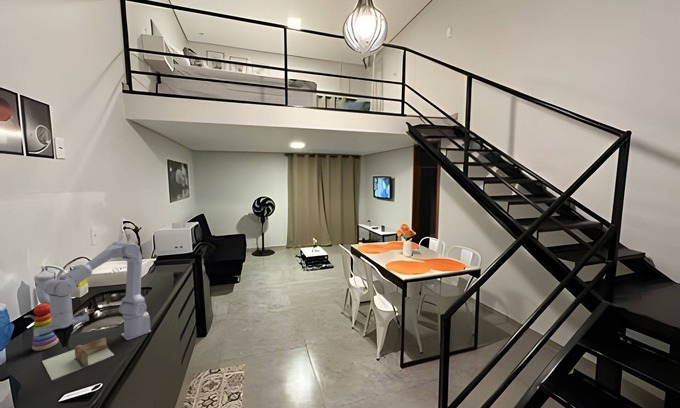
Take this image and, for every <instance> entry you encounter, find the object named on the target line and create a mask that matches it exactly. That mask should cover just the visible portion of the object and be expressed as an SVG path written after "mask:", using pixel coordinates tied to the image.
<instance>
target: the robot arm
mask: <svg viewBox="0 0 680 408" xmlns="http://www.w3.org/2000/svg"><path fill="white" fill-rule="evenodd" d="M140 249H141V247H140V245H138V243H135V242H126V241H125V242H124V241H120V240H119V241H114V242H112V243H111V244H109V245H107V246H106V248H105V249H104V250H103V251H101V252H100V253H99V254H98V255H97V254H96V256H95V257H94V258H92V259H91V260H89V261H88V262H86V263H85V264H82V263H81V264H77V265H74V266H73V267H72V269H71V270H69V271H67V272H66V273H65V274H62V275H59V278H54V279H51V280H50V281H48V282H47V284H46V286H45V288H44V289H43V291H44V293H45V294H47V295H48V299H49V301H48V302H49V305H50V312H49V313H51V317H50V318H51V324H49V325H47V326H44V327H42V328H39V329H36V330H34V329H33V332H34V334H33V336H35V337H37V336H39V335H41V334H44V333H48V332H51V331H53V333H54V334H55V335H56V336H57V338H58V339H59V341H58V342H60V346H61V348H66V347H68V345H69V340H70V337H71V336H72V333H73V331H74V329H75V326H74V325H76V324H77V325H78V324H80V323H83V322H88V321H90V317H89V314H84V315H83V314H82V315H79V316H75V317H74V316H73V304H72V303H73V301H72V293H73V292H74V290H75V289H76V286H78V285H79V284H81V283H82V282H83V281H84V280H86V279H88V278H89V277H90V276H92V274H93V270H94V271H95V269H97V268H99V267H100V266H102V265H103V264H105V263H107V262H108V261H110V260H111V259H117V258H119V259H120V258H122V259H123V260H125V261H126V263H127V264H126V265H127V266H126V283H125V285H126V286H125V296H123V298H121V304H120V305H119V308H118V311H119V313H120V314H121V315H122V317H123V327H124V328H123V329H124V330H123V331H124V332H123V333H121V334H120V335H121V337H123V338H124V339H125V340H126V341H130V340H133V339H135V338H138V337H140V336H143V335H145V334H148V333H151V332H152V330H151V319H150V318H151V317H150V315H149V312H148V311H147V304H146V299H145V297H144V296H143V295H142V294H141V293H142V292H141V290H142V271H143V270H142V269H143V268H142V266H143V256H142V253H141V250H140Z"/></svg>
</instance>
